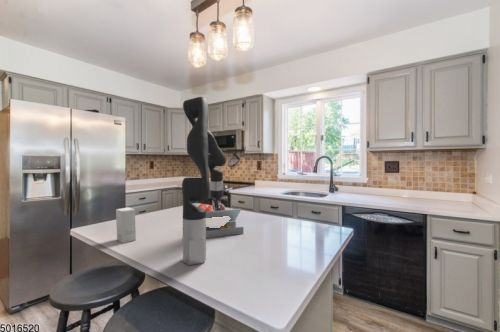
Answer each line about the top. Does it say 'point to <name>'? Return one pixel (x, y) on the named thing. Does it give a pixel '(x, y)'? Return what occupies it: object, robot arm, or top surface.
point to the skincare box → (125, 224)
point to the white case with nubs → (224, 230)
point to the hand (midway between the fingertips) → (216, 218)
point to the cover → (224, 214)
